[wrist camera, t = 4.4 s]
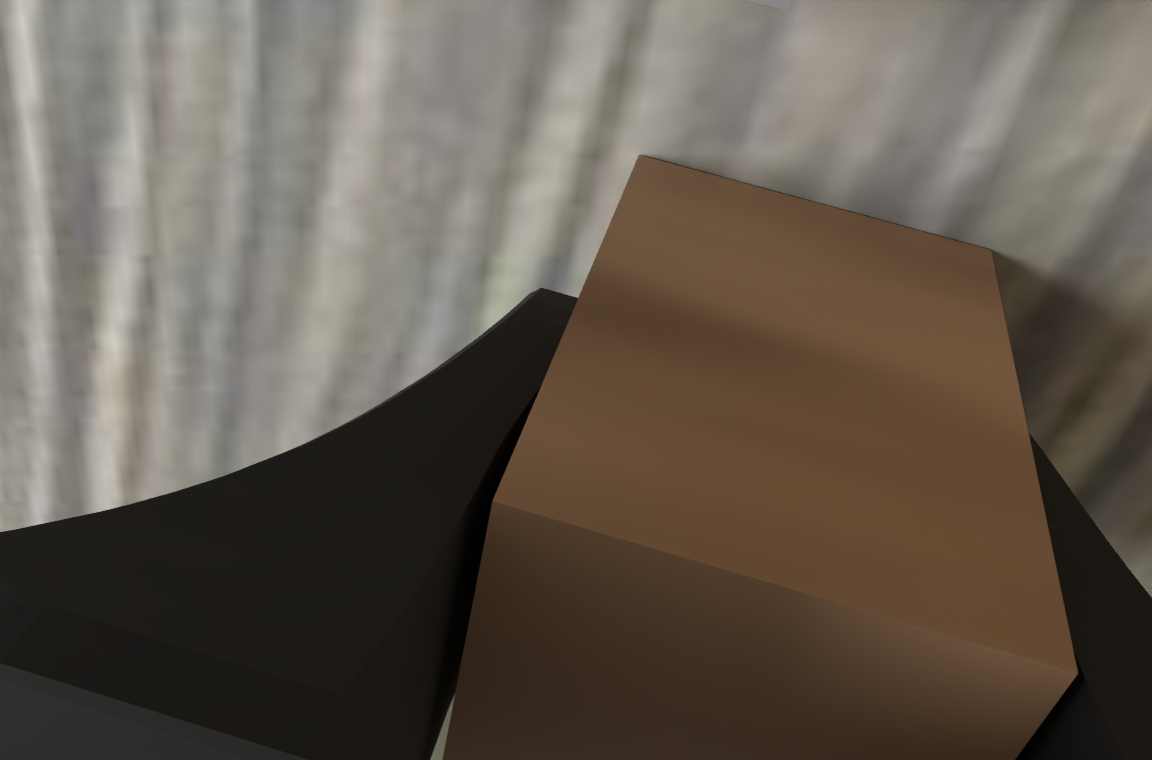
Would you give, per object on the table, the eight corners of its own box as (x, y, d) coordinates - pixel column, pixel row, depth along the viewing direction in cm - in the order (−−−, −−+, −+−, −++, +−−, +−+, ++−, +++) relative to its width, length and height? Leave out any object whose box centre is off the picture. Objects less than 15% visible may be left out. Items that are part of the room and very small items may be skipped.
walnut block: (865, 510, 14) (868, 961, 9) (573, 425, 15) (430, 822, 10) (990, 250, 12) (1077, 672, 7) (639, 154, 12) (491, 501, 7)
